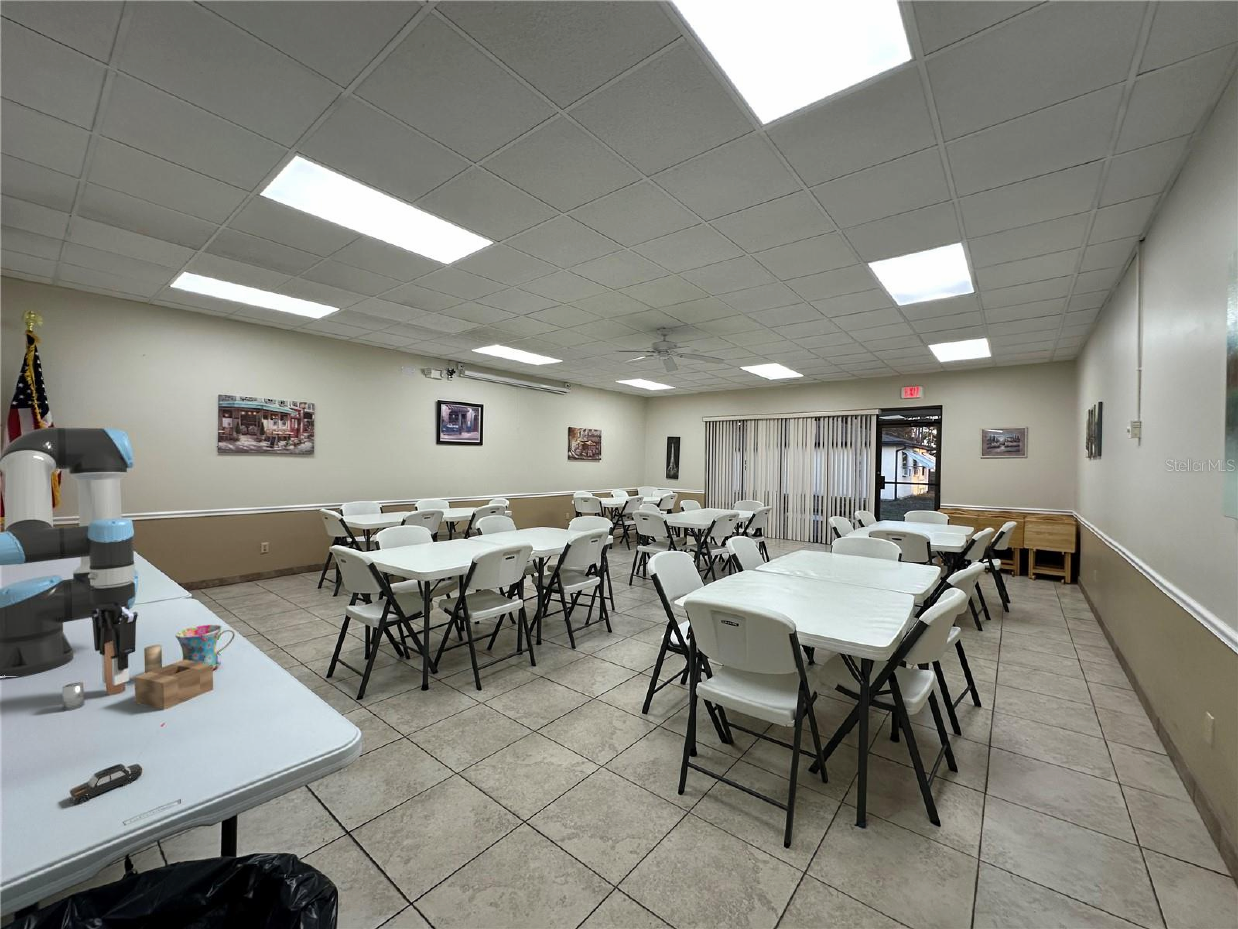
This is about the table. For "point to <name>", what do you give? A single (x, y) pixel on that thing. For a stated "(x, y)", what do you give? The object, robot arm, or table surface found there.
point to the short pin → (73, 696)
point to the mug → (202, 644)
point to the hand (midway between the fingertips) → (115, 681)
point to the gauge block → (173, 684)
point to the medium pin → (153, 658)
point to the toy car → (106, 781)
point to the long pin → (110, 687)
